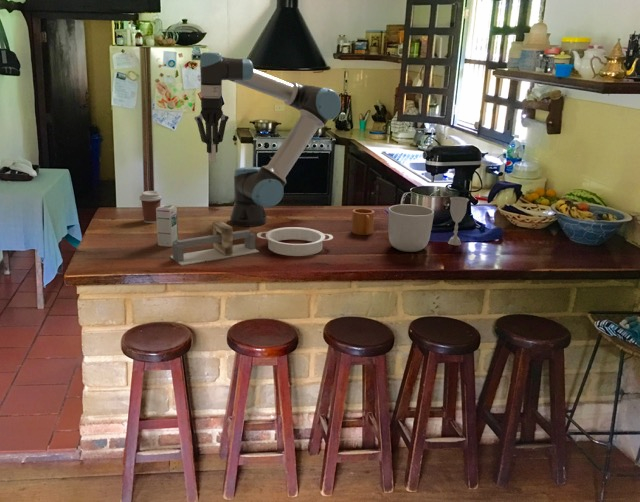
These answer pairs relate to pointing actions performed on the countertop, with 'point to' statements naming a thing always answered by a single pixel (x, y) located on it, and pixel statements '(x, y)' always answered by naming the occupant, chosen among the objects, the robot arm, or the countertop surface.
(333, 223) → the countertop surface
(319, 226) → the countertop surface
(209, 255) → the rail
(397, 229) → the planter
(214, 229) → the tan flat block
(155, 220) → the coffee cup
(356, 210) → the mug
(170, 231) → the syrup box
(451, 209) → the chalice
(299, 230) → the pot
